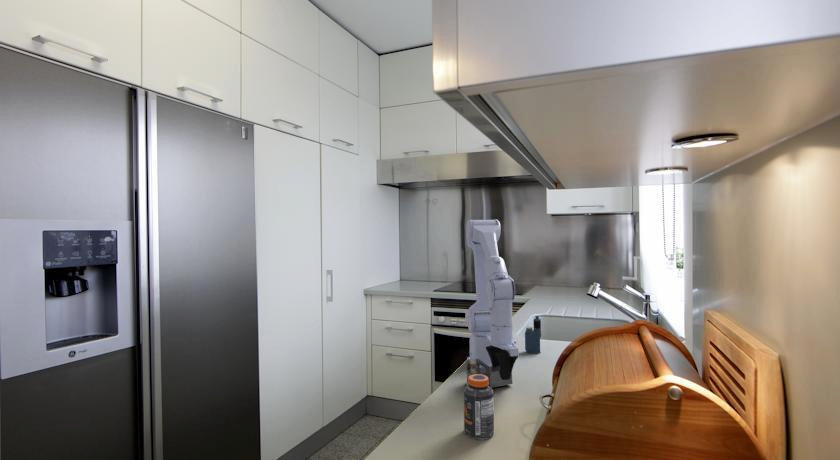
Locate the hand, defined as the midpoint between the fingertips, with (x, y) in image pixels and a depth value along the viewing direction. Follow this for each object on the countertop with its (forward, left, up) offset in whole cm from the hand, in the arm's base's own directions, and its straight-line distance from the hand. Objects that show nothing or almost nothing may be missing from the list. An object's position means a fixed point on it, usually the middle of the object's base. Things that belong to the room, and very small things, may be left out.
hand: (501, 376), depth 111 cm
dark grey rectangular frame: (0, -8, -2) cm, 8 cm away
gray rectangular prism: (0, -4, -2) cm, 4 cm away
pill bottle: (+23, -17, -2) cm, 28 cm away
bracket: (0, -6, -2) cm, 6 cm away
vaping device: (-24, +23, -2) cm, 34 cm away
